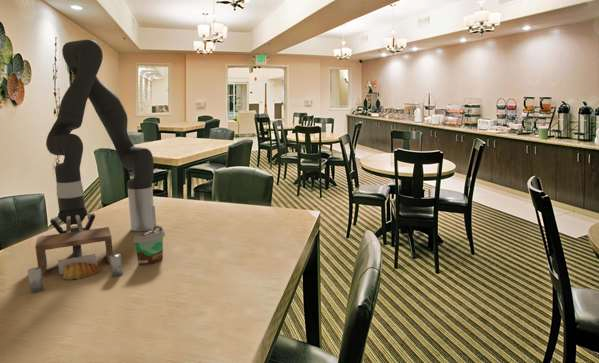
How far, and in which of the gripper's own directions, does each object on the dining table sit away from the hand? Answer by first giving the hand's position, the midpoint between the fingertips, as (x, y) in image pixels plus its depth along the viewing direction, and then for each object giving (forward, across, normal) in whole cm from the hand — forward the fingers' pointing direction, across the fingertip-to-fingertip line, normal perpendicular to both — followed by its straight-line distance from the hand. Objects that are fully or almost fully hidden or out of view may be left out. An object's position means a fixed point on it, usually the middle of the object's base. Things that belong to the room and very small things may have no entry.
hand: (76, 244), depth 134 cm
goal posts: (+4, 0, +25) cm, 25 cm away
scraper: (+3, 0, +6) cm, 7 cm away
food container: (+4, -22, +19) cm, 29 cm away
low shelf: (+4, 0, +10) cm, 11 cm away
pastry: (+4, 0, +19) cm, 19 cm away
